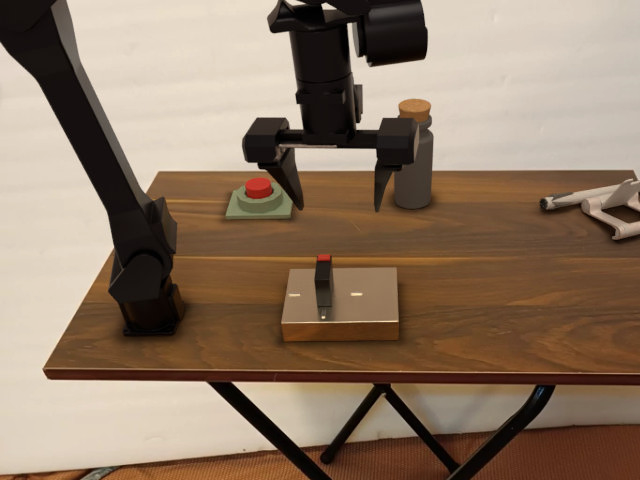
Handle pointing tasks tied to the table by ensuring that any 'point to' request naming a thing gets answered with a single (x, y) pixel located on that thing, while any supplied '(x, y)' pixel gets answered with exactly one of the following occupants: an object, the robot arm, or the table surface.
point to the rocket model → (574, 197)
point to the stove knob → (324, 280)
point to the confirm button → (258, 188)
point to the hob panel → (343, 306)
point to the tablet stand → (620, 196)
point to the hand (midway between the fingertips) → (339, 209)
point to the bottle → (416, 159)
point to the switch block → (260, 205)
